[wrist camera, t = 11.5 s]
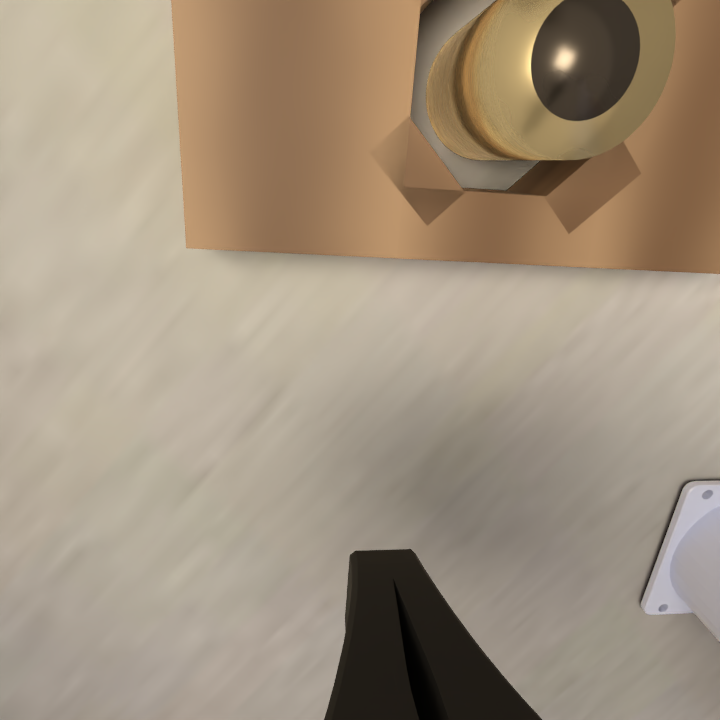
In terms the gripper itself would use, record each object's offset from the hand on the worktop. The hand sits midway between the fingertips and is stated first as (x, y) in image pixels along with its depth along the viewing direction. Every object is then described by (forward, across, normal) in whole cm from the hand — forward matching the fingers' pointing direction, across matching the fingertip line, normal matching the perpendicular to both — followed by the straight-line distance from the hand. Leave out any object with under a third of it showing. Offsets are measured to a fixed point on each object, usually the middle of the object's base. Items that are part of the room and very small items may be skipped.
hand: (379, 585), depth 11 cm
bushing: (+9, -4, -11) cm, 15 cm away
